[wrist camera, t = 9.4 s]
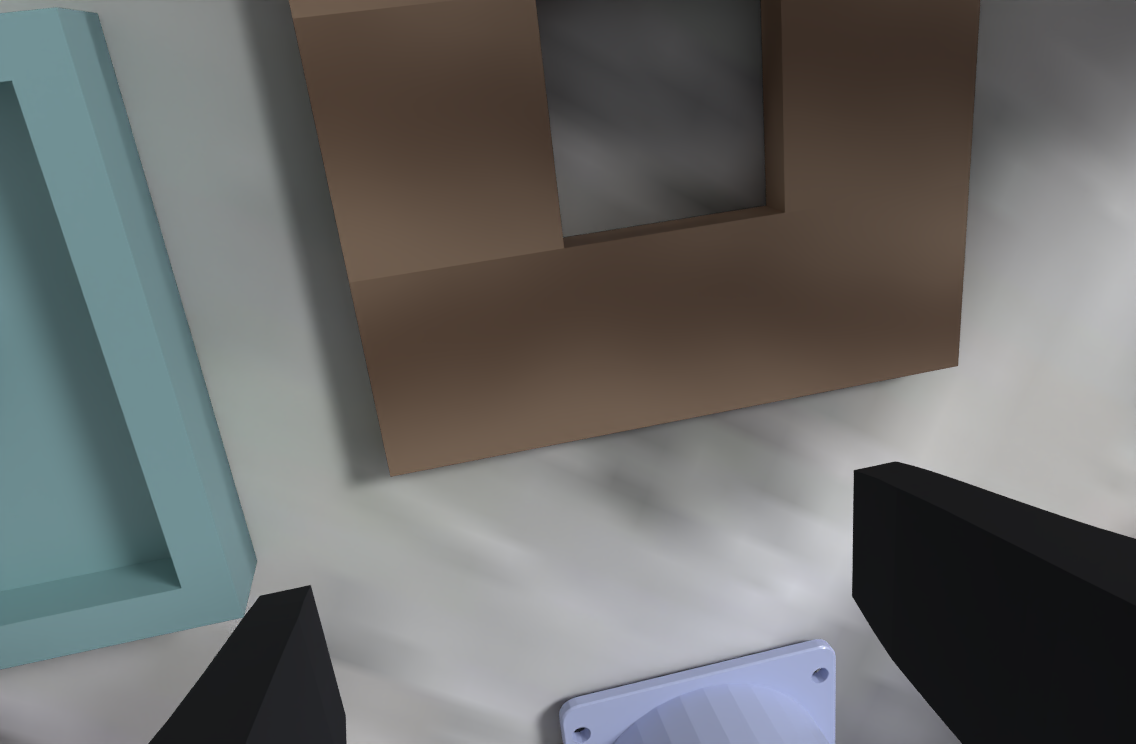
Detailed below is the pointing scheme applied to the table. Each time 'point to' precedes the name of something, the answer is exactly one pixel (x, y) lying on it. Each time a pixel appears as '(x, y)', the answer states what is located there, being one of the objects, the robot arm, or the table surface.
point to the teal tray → (97, 375)
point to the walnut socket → (640, 253)
